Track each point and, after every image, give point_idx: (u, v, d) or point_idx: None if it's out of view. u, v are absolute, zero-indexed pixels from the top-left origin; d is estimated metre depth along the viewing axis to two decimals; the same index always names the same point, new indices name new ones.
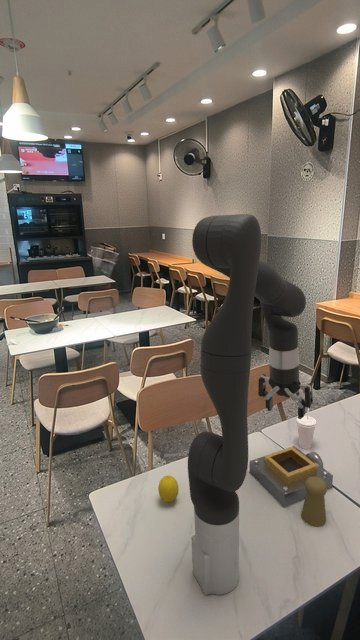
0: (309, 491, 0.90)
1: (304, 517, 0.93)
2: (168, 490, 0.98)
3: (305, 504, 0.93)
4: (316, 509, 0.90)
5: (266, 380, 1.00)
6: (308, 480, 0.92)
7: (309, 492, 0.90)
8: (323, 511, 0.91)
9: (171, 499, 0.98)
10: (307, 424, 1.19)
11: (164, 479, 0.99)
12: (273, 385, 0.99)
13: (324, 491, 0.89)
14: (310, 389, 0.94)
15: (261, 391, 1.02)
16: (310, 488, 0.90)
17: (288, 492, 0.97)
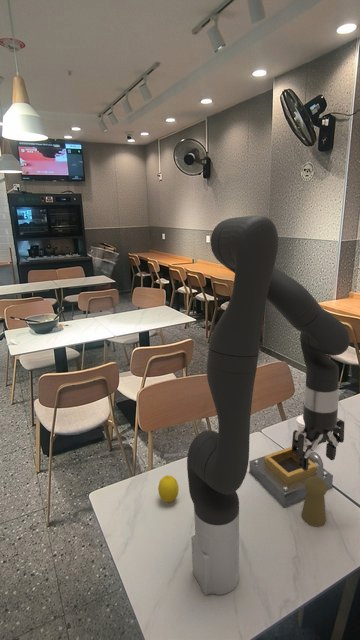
0: (309, 491, 0.90)
1: (304, 517, 0.93)
2: (168, 490, 0.98)
3: (305, 504, 0.93)
4: (316, 510, 0.90)
5: (304, 435, 0.85)
6: (308, 480, 0.92)
7: (309, 492, 0.90)
8: (323, 511, 0.91)
9: (171, 499, 0.98)
10: None
11: (164, 479, 0.99)
12: (313, 436, 0.86)
13: (324, 491, 0.89)
14: None
15: (302, 451, 0.85)
16: (310, 488, 0.90)
17: (288, 492, 0.97)
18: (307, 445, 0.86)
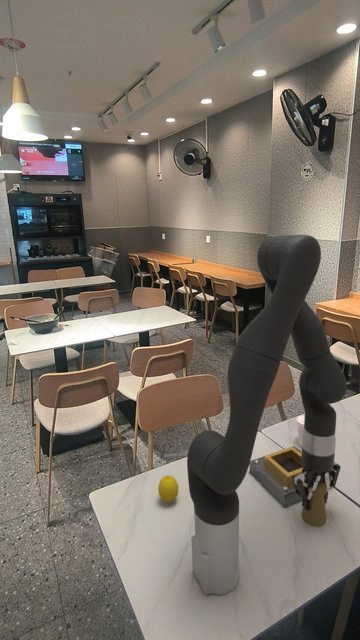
0: None
1: (304, 517, 0.93)
2: (168, 490, 0.98)
3: None
4: (316, 509, 0.90)
5: (302, 478, 0.88)
6: None
7: None
8: (323, 511, 0.91)
9: (171, 499, 0.98)
10: None
11: (164, 479, 0.99)
12: (311, 479, 0.89)
13: (324, 491, 0.89)
14: None
15: (304, 493, 0.88)
16: None
17: (288, 492, 0.97)
18: (308, 487, 0.90)
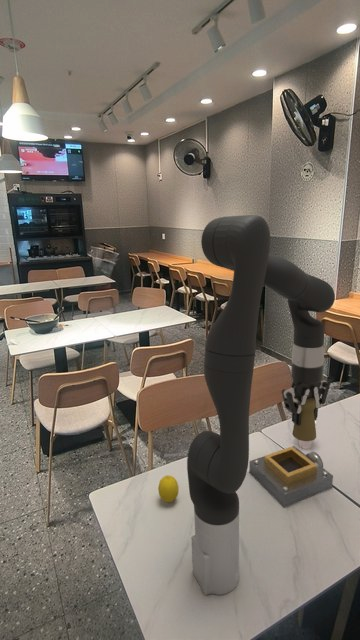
0: None
1: (295, 433, 0.96)
2: (168, 490, 0.98)
3: None
4: (305, 424, 0.94)
5: (292, 391, 0.91)
6: None
7: None
8: (313, 426, 0.94)
9: (171, 499, 0.98)
10: None
11: (164, 479, 0.99)
12: (301, 393, 0.92)
13: (313, 405, 0.92)
14: None
15: (293, 406, 0.92)
16: None
17: (288, 492, 0.97)
18: (297, 401, 0.93)
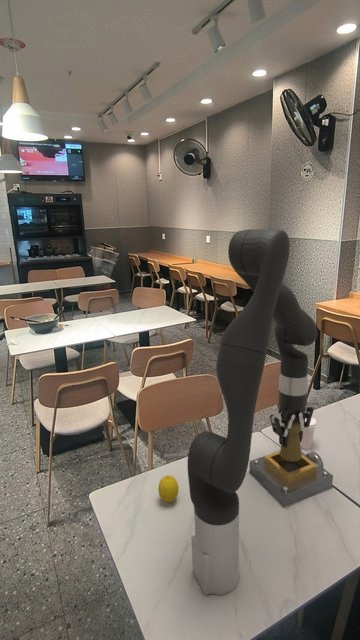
0: None
1: (282, 454, 1.05)
2: (168, 490, 0.98)
3: None
4: (291, 446, 1.02)
5: (279, 417, 1.00)
6: None
7: None
8: (298, 447, 1.03)
9: (171, 499, 0.98)
10: None
11: (164, 479, 0.99)
12: (287, 418, 1.00)
13: (298, 429, 1.01)
14: None
15: (280, 430, 1.00)
16: None
17: (288, 492, 0.97)
18: (284, 426, 1.02)
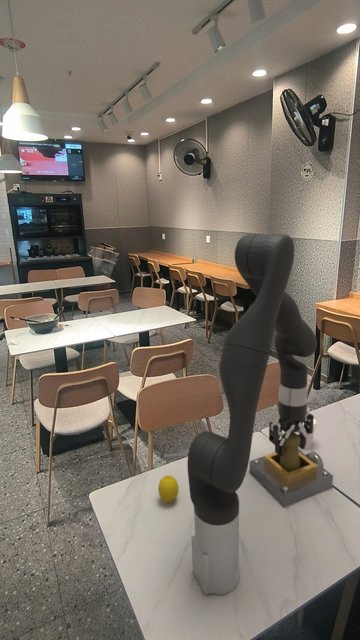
0: (285, 443, 1.03)
1: None
2: (168, 490, 0.98)
3: (281, 456, 1.05)
4: (290, 459, 1.03)
5: (278, 425, 1.01)
6: None
7: (284, 444, 1.03)
8: (297, 461, 1.04)
9: (171, 499, 0.98)
10: None
11: (164, 479, 0.99)
12: (286, 427, 1.01)
13: (297, 443, 1.02)
14: None
15: (277, 439, 1.00)
16: (285, 441, 1.03)
17: (288, 492, 0.97)
18: (282, 434, 1.02)
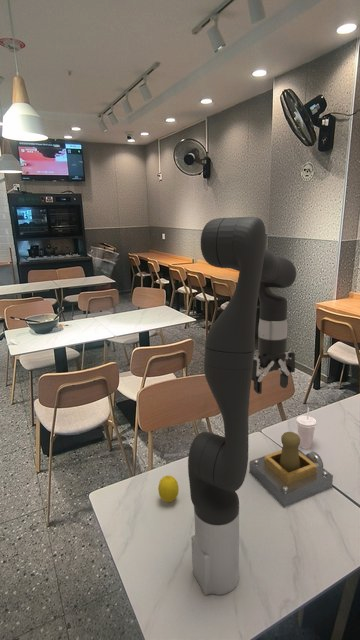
0: (285, 443, 1.03)
1: None
2: (168, 490, 0.98)
3: (281, 456, 1.05)
4: (290, 459, 1.03)
5: (257, 361, 0.99)
6: (284, 434, 1.04)
7: (284, 444, 1.03)
8: (297, 461, 1.04)
9: (171, 499, 0.98)
10: (307, 424, 1.19)
11: (164, 479, 0.99)
12: (266, 363, 0.99)
13: (297, 443, 1.02)
14: None
15: (255, 374, 0.98)
16: (285, 441, 1.03)
17: (288, 492, 0.97)
18: (260, 371, 1.00)
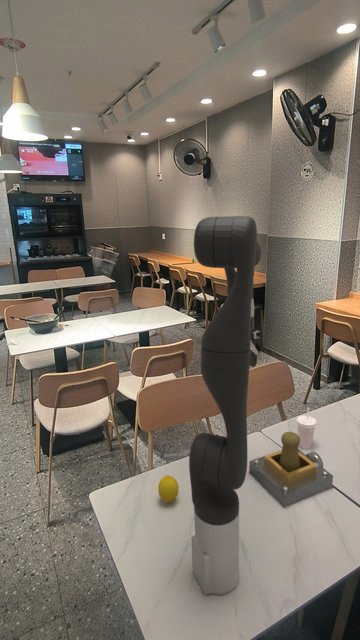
0: (285, 443, 1.03)
1: None
2: (168, 490, 0.98)
3: (281, 456, 1.05)
4: (290, 459, 1.03)
5: None
6: (284, 434, 1.04)
7: (284, 444, 1.03)
8: (297, 461, 1.04)
9: (171, 499, 0.98)
10: (307, 424, 1.19)
11: (164, 479, 0.99)
12: None
13: (297, 443, 1.02)
14: None
15: None
16: (285, 441, 1.03)
17: (288, 492, 0.97)
18: None
